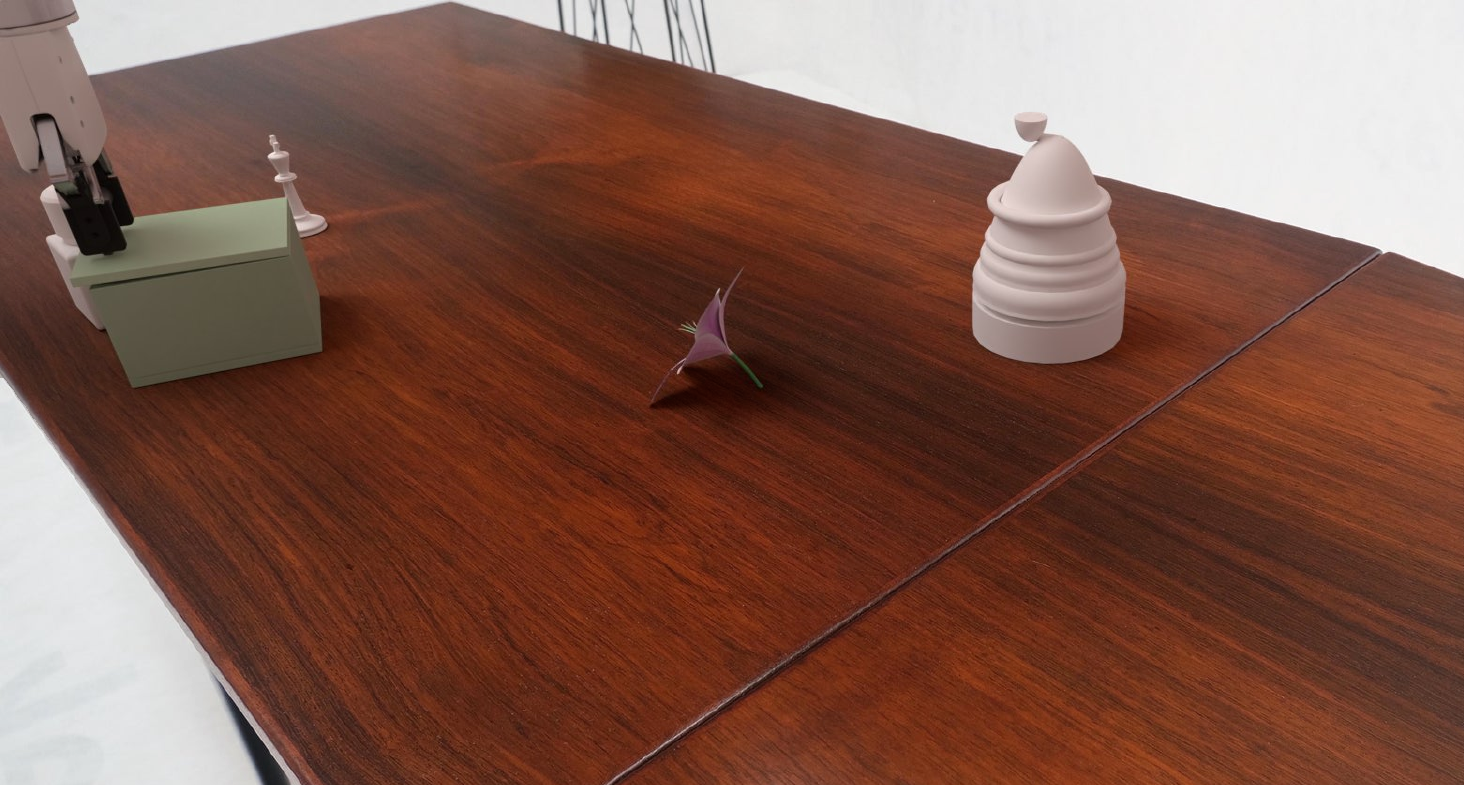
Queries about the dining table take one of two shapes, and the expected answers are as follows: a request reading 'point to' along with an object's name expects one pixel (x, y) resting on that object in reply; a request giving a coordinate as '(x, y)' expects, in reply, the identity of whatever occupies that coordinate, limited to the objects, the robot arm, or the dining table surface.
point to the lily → (710, 337)
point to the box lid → (191, 241)
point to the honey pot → (1048, 258)
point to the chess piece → (294, 193)
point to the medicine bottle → (67, 255)
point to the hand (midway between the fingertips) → (109, 236)
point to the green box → (213, 317)
